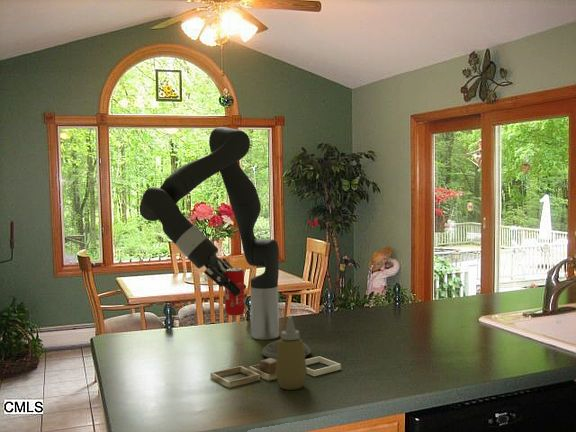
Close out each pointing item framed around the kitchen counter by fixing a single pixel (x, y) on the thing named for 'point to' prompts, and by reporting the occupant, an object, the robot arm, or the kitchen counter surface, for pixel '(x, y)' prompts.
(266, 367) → the walnut cube
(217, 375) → the pen
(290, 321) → the squeeze bottle
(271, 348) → the flying saucer
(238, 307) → the beverage can
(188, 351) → the kitchen counter surface
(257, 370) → the square wooden frame
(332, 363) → the pen
